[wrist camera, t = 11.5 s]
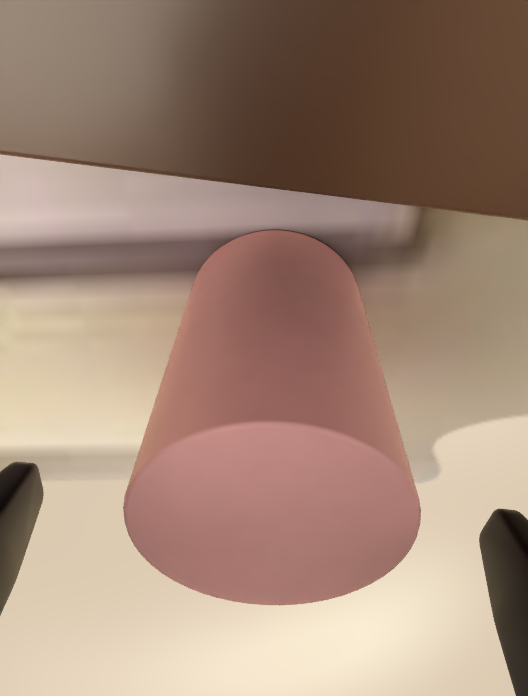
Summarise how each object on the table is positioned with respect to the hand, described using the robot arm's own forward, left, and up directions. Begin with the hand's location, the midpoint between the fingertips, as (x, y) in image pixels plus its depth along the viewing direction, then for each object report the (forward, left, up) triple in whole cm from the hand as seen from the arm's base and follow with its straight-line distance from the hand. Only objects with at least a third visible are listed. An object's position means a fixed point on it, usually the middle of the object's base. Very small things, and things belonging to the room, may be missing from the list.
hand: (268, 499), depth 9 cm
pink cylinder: (0, 0, -7) cm, 7 cm away
